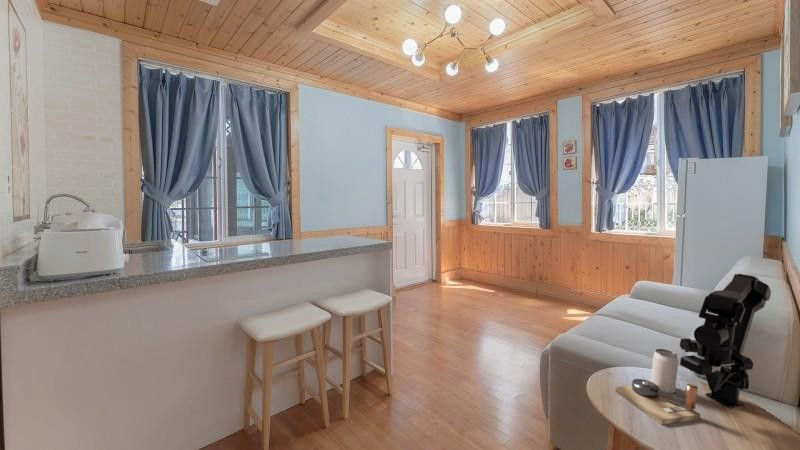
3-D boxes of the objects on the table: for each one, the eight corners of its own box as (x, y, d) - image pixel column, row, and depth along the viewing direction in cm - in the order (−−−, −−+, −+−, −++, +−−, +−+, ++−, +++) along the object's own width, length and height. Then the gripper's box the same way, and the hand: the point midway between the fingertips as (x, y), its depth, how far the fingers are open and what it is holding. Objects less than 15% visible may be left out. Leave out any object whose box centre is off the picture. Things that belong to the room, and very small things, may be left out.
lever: (628, 389, 111) (630, 368, 110) (637, 382, 115) (639, 361, 114) (690, 416, 98) (693, 392, 97) (698, 407, 102) (701, 384, 102)
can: (679, 395, 111) (683, 358, 110) (656, 392, 113) (660, 356, 111) (668, 383, 118) (672, 349, 116) (646, 381, 119) (650, 347, 118)
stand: (649, 387, 115) (649, 382, 115) (699, 419, 100) (700, 413, 100) (615, 391, 113) (615, 386, 112) (661, 424, 97) (662, 418, 97)
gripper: (715, 325, 109) (709, 372, 111) (665, 329, 106) (660, 378, 108) (757, 340, 99) (750, 393, 100) (703, 346, 95) (697, 400, 97)
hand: (712, 390), depth 102 cm, fingers closed
